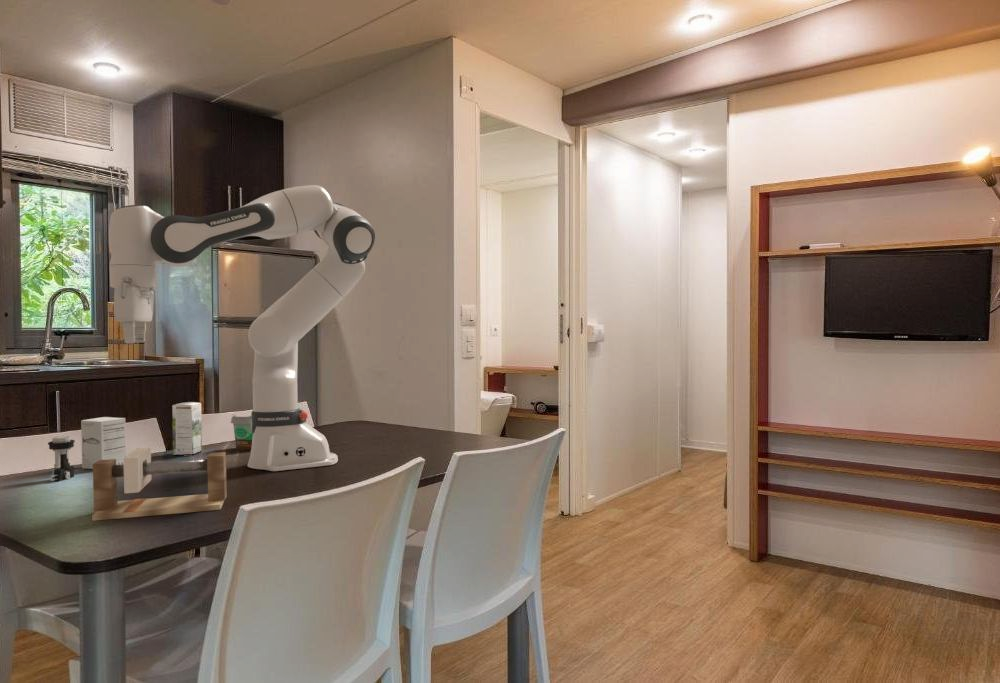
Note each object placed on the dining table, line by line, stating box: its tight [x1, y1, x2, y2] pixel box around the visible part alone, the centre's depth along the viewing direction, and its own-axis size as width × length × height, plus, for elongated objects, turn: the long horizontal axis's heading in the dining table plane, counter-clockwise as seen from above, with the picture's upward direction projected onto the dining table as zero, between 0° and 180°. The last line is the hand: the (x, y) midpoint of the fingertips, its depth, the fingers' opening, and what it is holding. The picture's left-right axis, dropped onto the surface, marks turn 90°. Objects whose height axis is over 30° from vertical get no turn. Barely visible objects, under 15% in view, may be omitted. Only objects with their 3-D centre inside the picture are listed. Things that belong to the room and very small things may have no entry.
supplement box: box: [80, 416, 127, 470], centre depth 172 cm, size 7×7×13 cm
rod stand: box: [91, 451, 228, 521], centre depth 130 cm, size 23×10×10 cm, turn 107°
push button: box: [47, 435, 75, 482], centre depth 158 cm, size 7×5×10 cm
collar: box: [123, 447, 152, 494], centre depth 129 cm, size 2×11×7 cm, turn 17°
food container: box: [230, 413, 253, 452], centre depth 194 cm, size 12×6×10 cm, turn 80°
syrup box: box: [171, 401, 203, 456], centre depth 188 cm, size 6×6×14 cm
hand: (135, 342), depth 145 cm, fingers open, 8 cm apart
